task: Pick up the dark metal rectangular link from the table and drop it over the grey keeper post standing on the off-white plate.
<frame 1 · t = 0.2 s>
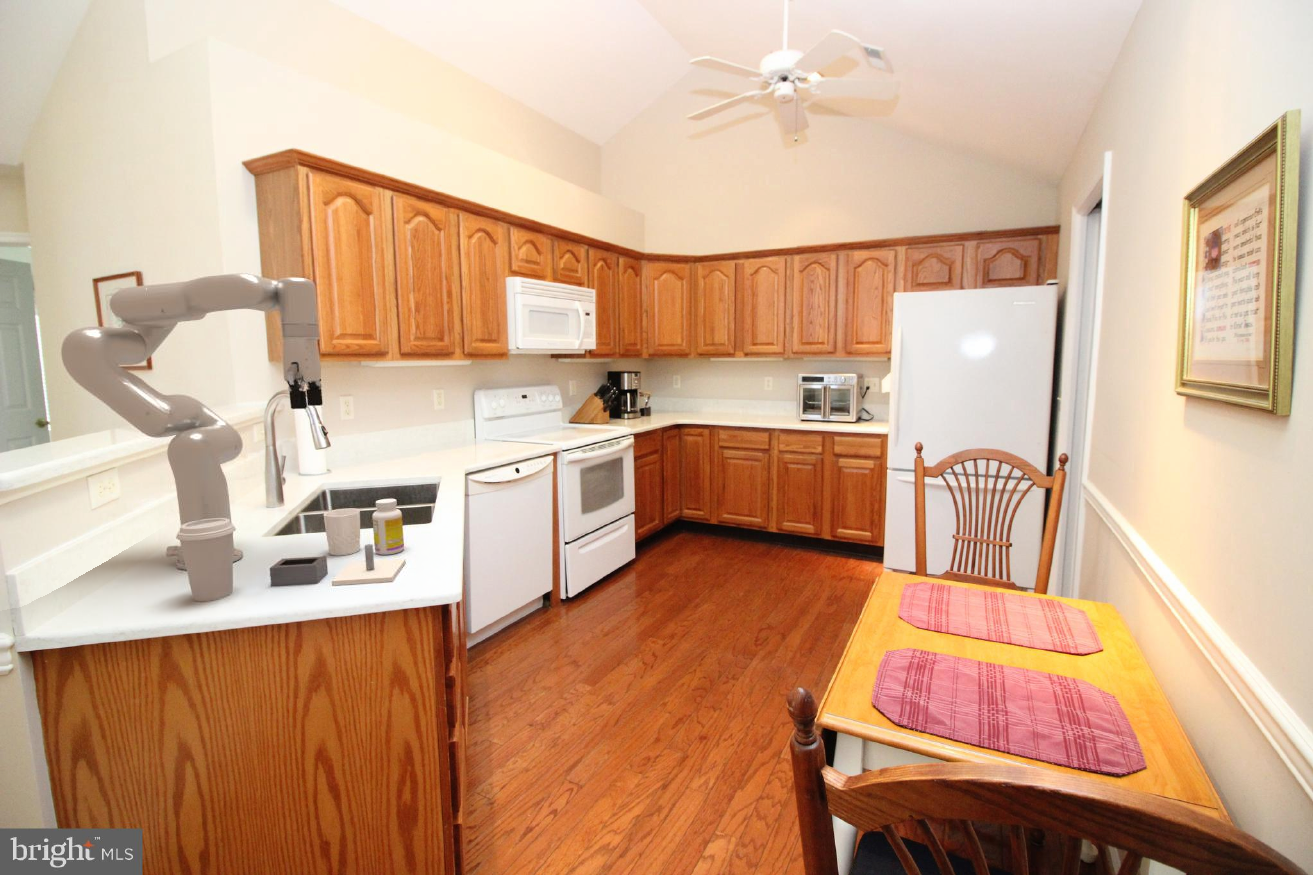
hand: (307, 407, 141), 36 cm above the counter, tool pointing down, fingers open, 9 cm apart
supplement bottle: (389, 552, 149), on the counter
white cup: (344, 552, 149), on the counter
keeper: (370, 573, 133), on the counter
link: (300, 579, 130), on the counter
coffee cup: (213, 596, 122), on the counter
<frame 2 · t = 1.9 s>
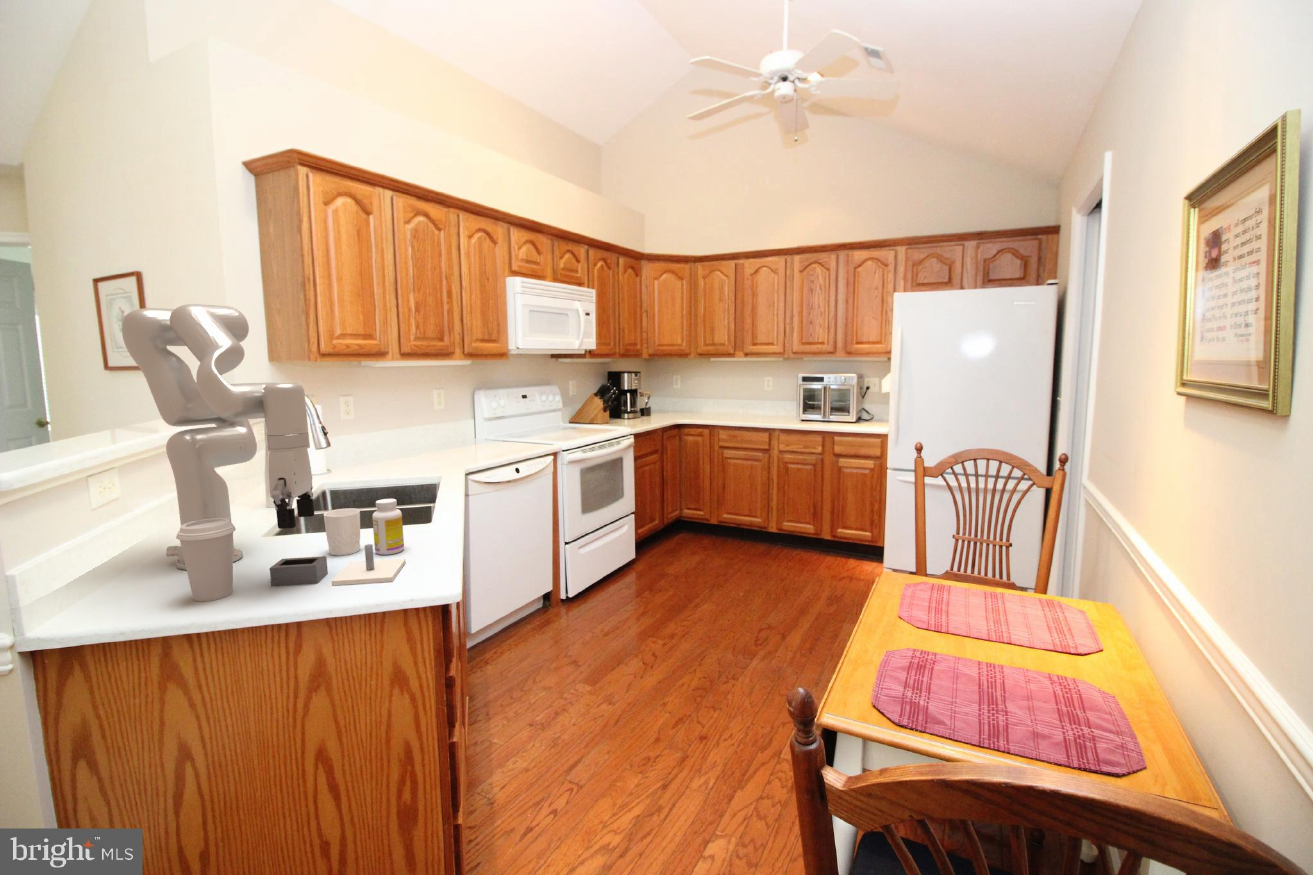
hand: (297, 522, 128), 13 cm above the counter, tool pointing down, fingers open, 9 cm apart
nothing on the counter moved.
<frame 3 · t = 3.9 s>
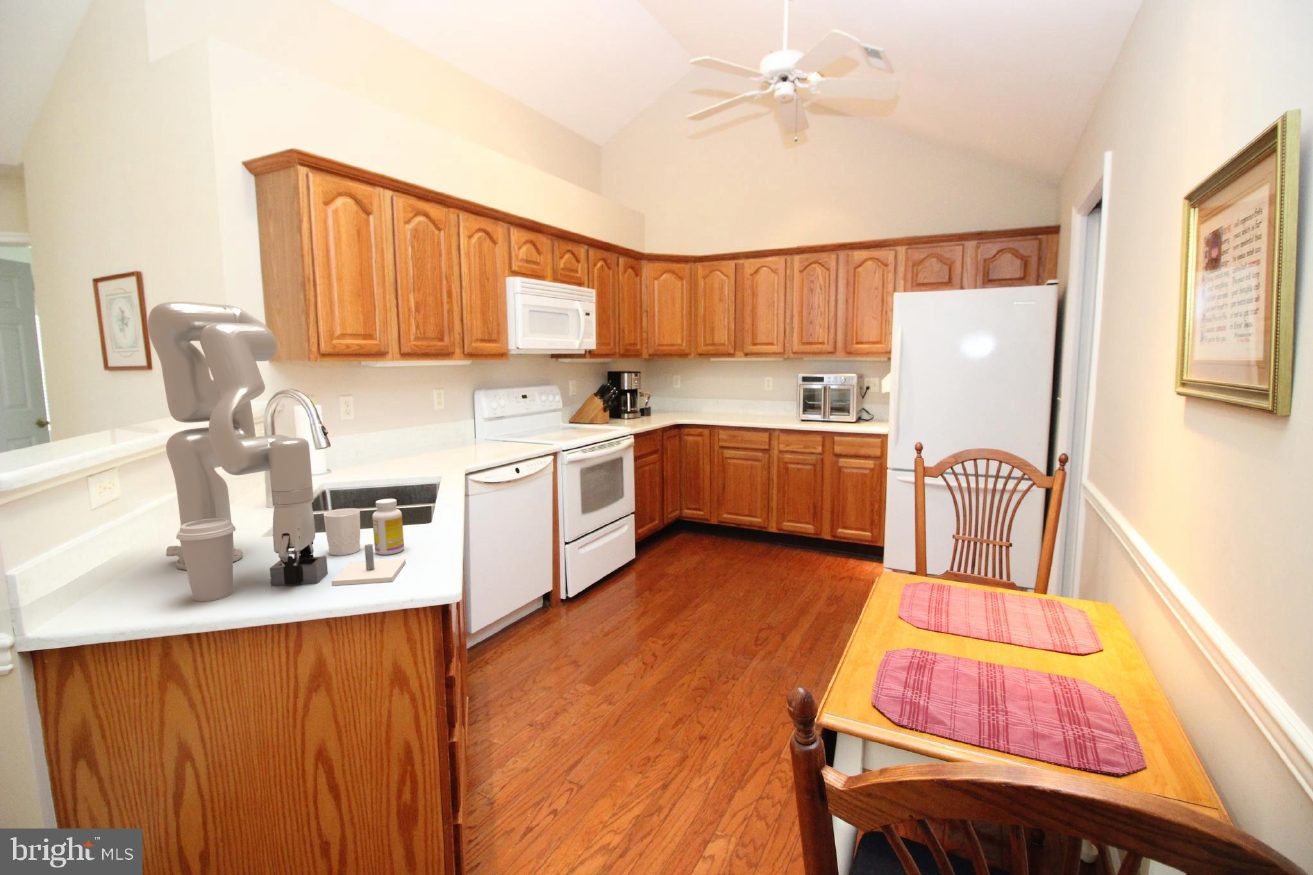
hand: (300, 577, 130), 1 cm above the counter, tool pointing down, fingers closed on link, 6 cm apart
link: (300, 579, 130), on the counter, touching gripper
everything else where it was.
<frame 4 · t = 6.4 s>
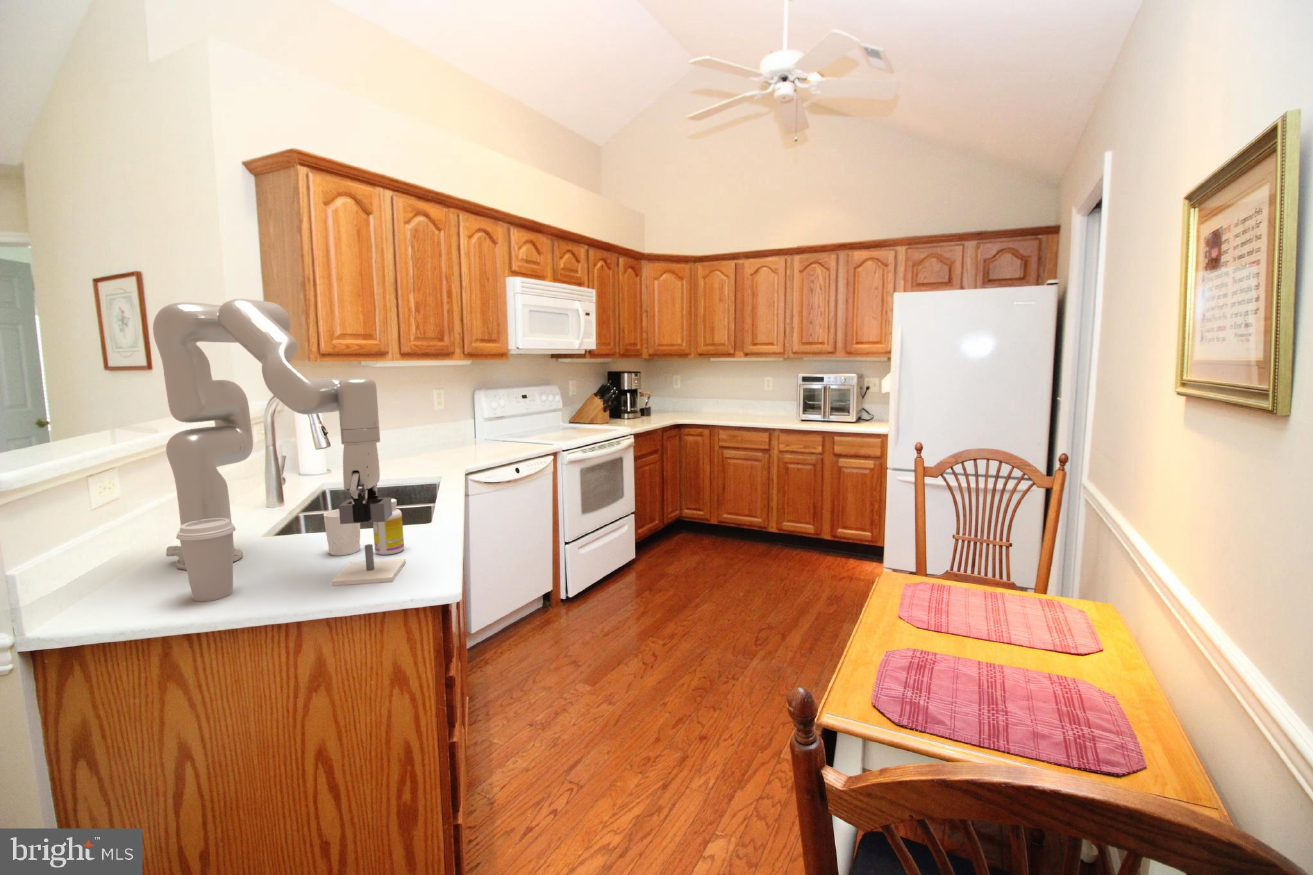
hand: (366, 516, 132), 13 cm above the counter, tool pointing down, fingers closed on link, 6 cm apart
link: (366, 519, 132), point 12 cm above the counter, touching gripper
everything else where it was.
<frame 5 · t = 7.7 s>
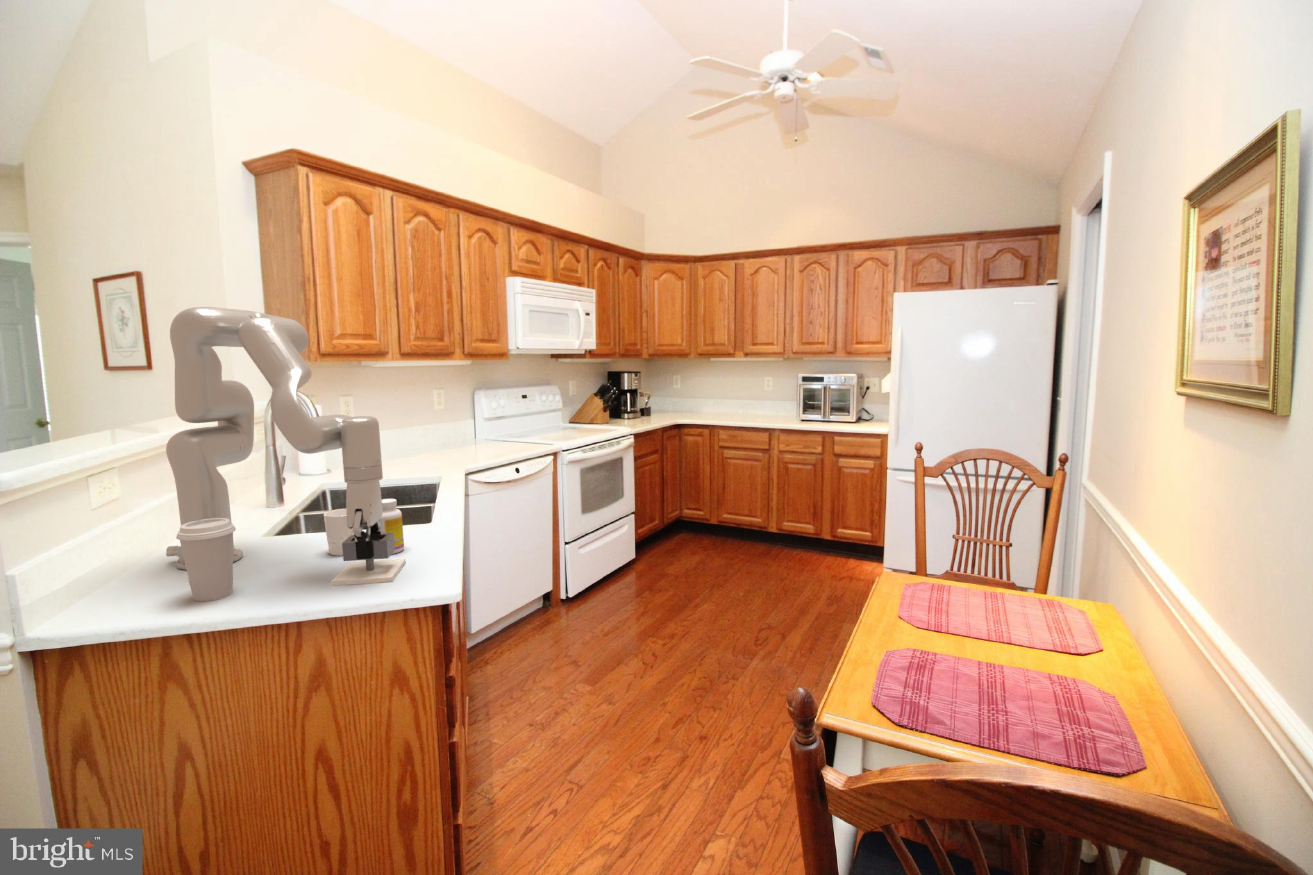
hand: (369, 553, 133), 5 cm above the counter, tool pointing down, fingers closed on link, 6 cm apart
link: (369, 555, 133), point 4 cm above the counter, touching gripper
everything else where it was.
when the fingers open (3 cm above the counter, at t = 8.9 s): link drops 2 cm, resting on keeper.
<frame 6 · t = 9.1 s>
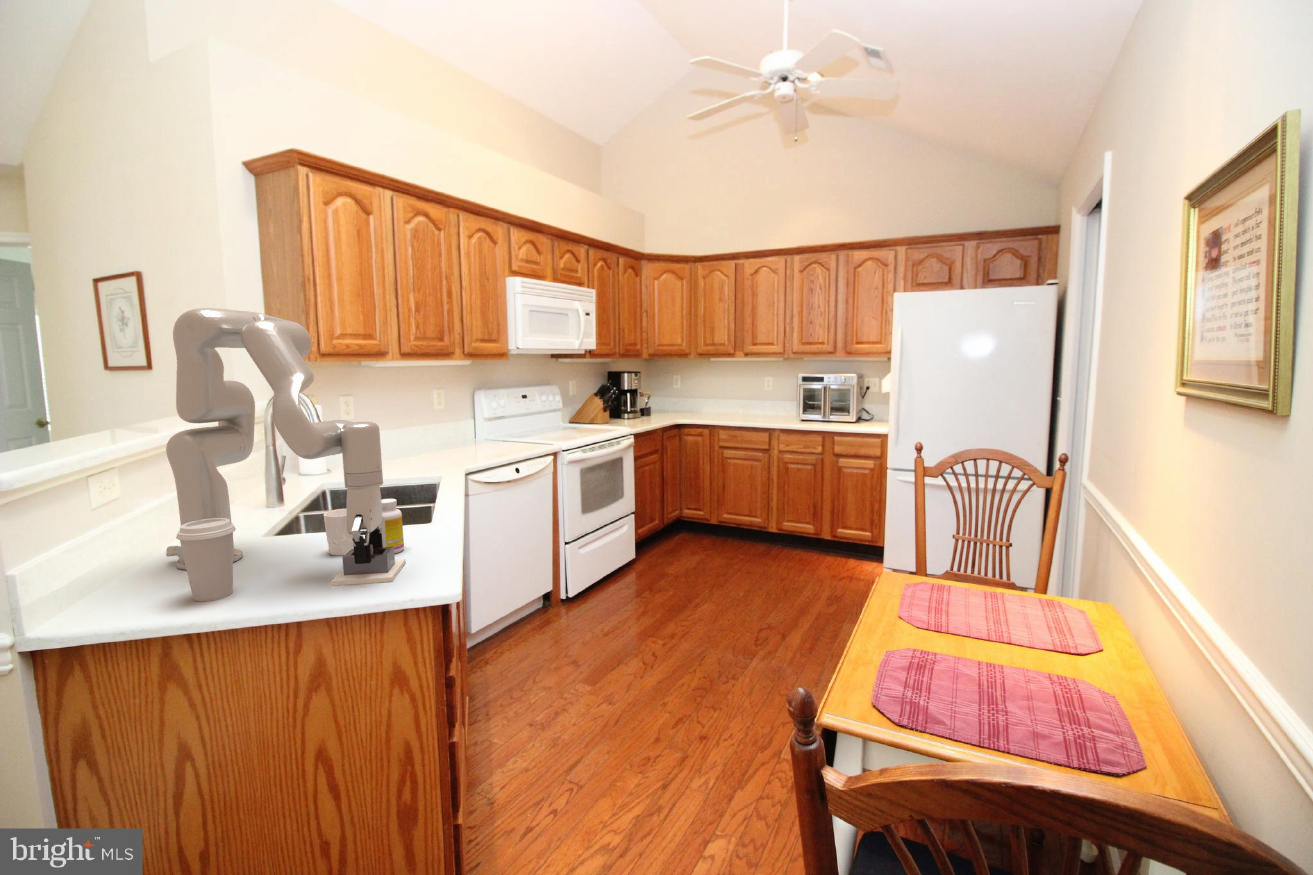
hand: (369, 556, 133), 4 cm above the counter, tool pointing down, fingers open, 8 cm apart
link: (370, 569, 133), point 1 cm above the counter, touching keeper
everything else where it was.
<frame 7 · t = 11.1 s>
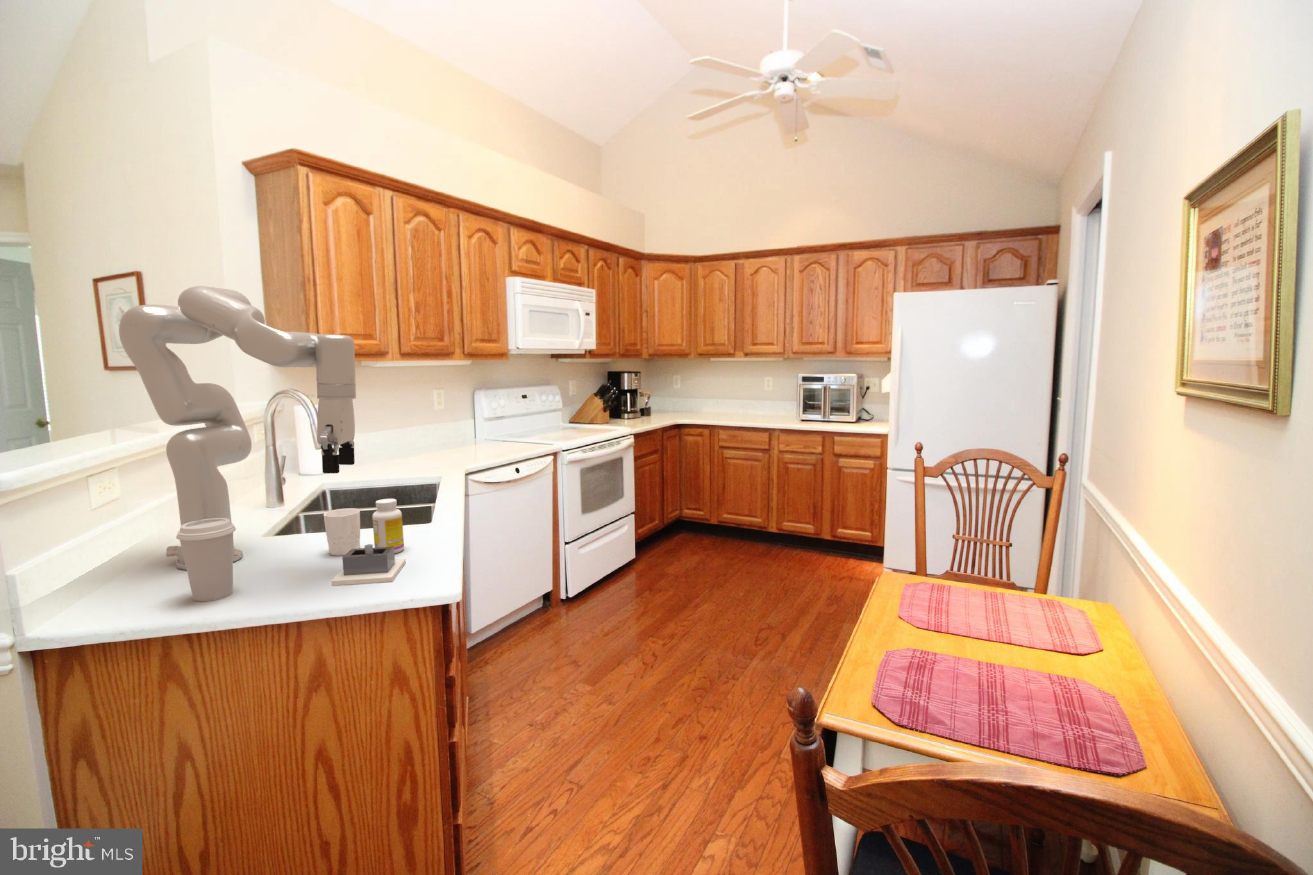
hand: (339, 468, 134), 23 cm above the counter, tool pointing down, fingers open, 9 cm apart
nothing on the counter moved.
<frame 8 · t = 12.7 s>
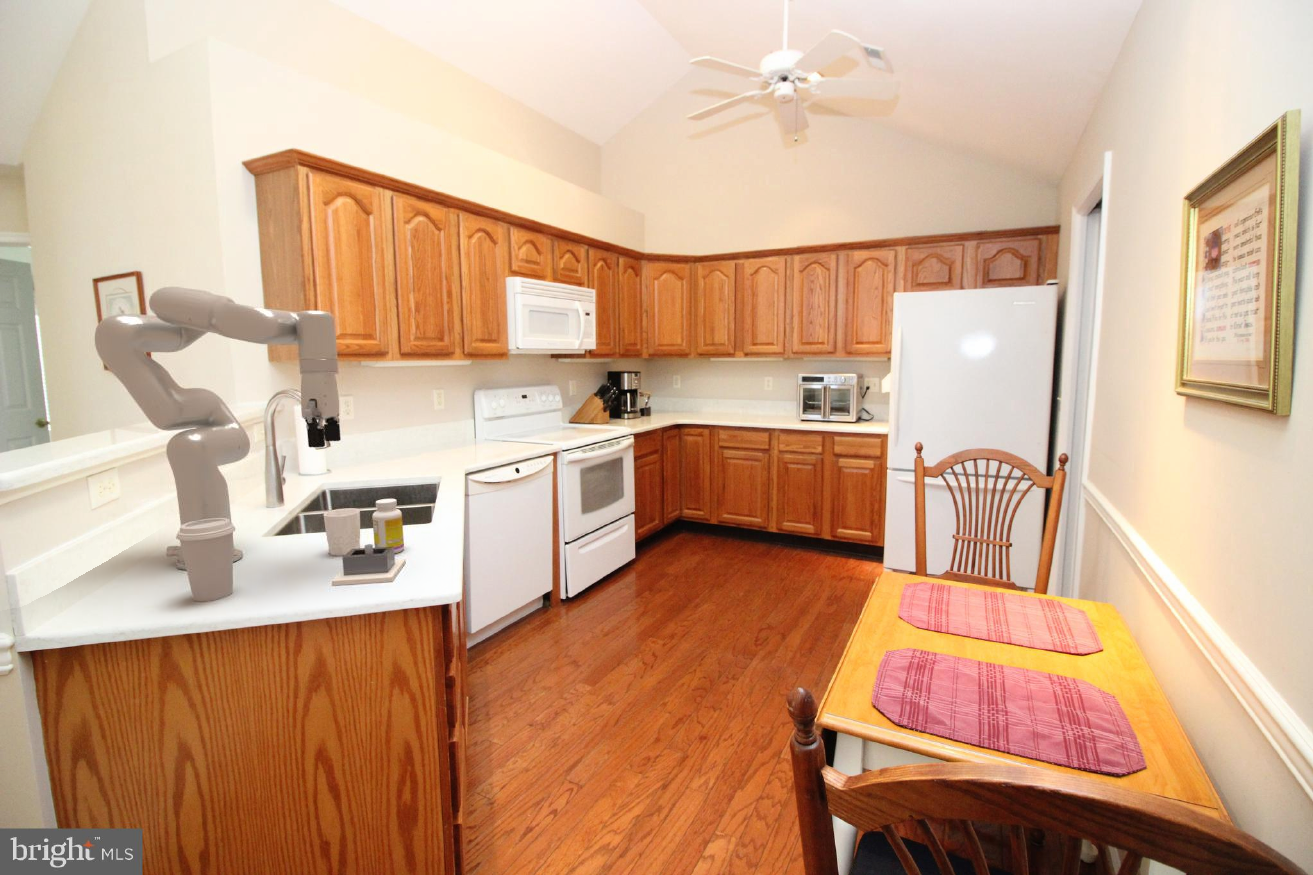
hand: (325, 443, 136), 28 cm above the counter, tool pointing down, fingers open, 9 cm apart
nothing on the counter moved.
at the end: link 0.1 cm off-centre on the keeper, point 1.0 cm above the keeper's base; the gripper is holding nothing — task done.
